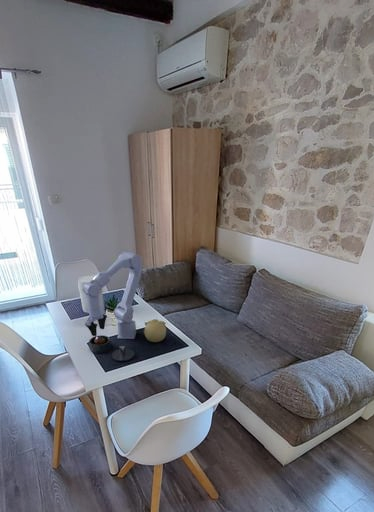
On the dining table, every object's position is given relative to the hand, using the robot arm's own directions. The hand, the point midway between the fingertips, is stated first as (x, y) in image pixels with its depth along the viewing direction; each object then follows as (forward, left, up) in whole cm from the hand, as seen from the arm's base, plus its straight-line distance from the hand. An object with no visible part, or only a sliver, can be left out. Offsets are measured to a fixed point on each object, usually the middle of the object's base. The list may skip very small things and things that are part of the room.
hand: (98, 332), depth 157 cm
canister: (+16, -45, -8) cm, 48 cm away
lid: (-14, +10, -7) cm, 19 cm away
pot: (-1, +3, -8) cm, 8 cm away
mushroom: (-1, +3, -7) cm, 8 cm away
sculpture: (-28, -8, -8) cm, 30 cm away
